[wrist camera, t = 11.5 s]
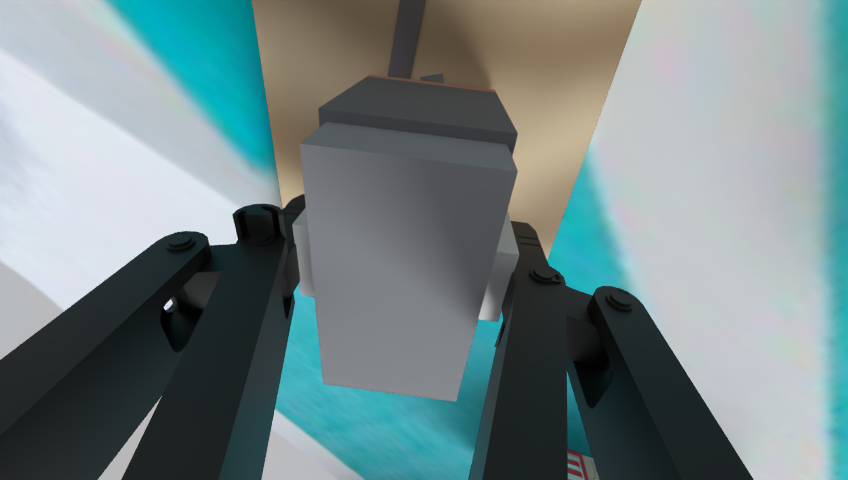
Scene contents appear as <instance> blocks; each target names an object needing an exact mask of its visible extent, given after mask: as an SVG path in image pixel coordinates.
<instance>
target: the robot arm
mask: <svg viewBox="0 0 848 480" xmlns="http://www.w3.org/2000/svg"><path fill="white" fill-rule="evenodd" d="M233 219H234V223H235V228H236V232H237V236H238V240H237V242H236V244H230V245H212V246H210V245H209V241H208V238H207V236H205V235H204V234H203V233H199V232H190V231H184V232H177V233H174V234H171V235H168V236H165V237H163V238H162V239H160V240H158V241H157V242H155V243H154V244H153V245H151V246H150V247H149V248H147V249H146V250H145V251H143V252H142V253H141V254H139V255H138V256H137V257H135V258H134V259H133V260H132V261H130V262H129V263H128V264H126V265H125V266H124V267H122V268H121V269H120V270H118V271H117V272H116V273H114V274H113V275H112V276H110V277H109V278H108V279H106V280H105V281H104V282H103V283H101V284H100V285H99V286H97V287H96V288H95V289H93V290H92V291H91V292H89V293H88V294H87V295H85V296H84V297H83V298H81V299H80V300H79V301H77V302H76V303H75V304H74V305H72V306H71V307H70V308H68V309H67V310H66V311H64V312H63V313H62V314H60V315H59V316H58V317H56V318H55V319H54V320H52V321H51V322H50V323H48V324H47V325H46V326H45V327H43V328H42V329H41V330H39V331H38V332H37V333H35V334H34V335H33V336H31V337H30V338H29V339H27V340H26V341H25V342H23V343H22V344H21V345H19V346H18V347H17V348H16V349H14V350H13V351H12V352H10V353H9V354H8V355H6V356H5V357H4V358H3V359H1V360H0V480H98V478H99V477H100V476H101V475H102V473H103V472H104V470H105V469H106V468H107V467H108V465H109V464H110V463H111V462H112V460H113V459H114V458H115V456H116V455H117V454H118V452H119V451H120V450H121V448H122V447H123V446H124V444H125V443H126V442H127V441H128V439H129V438H130V437H131V435H132V434H133V433H134V431H135V430H136V429H137V427H138V426H139V425H140V423H141V422H142V421H143V420H144V418H145V417H146V416H147V414H148V413H149V412H150V411H151V409H152V408H153V407H154V405H155V404H156V403H157V401H158V400H159V399H160V397H161V396H162V397H161V399H160V401H159V403H158V405H157V407H156V410H155V411H154V414H153V416H152V418H151V420H150V422H149V424H148V426H147V428H146V430H145V432H144V434H143V436H142V438H141V440H140V442H139V444H138V447H137V449H136V451H135V453H134V455H133V457H132V459H131V461H130V463H129V465H128V467H127V469H126V471H125V473H124V475H123V477H122V479H121V480H261V478H262V473H263V467H264V462H265V457H266V452H267V446H268V441H269V436H270V431H271V425H272V420H273V415H274V410H275V404H276V399H277V394H278V389H279V383H280V378H281V373H282V368H283V362H284V357H285V352H286V347H287V341H288V336H289V331H290V326H291V320H292V315H293V310H294V305H295V300H294V293H293V292H294V290H295V289H296V287H297V285H298V284H300V292H301V295H304V296H312V297H315V295H314V285H313V275H312V265H311V254H310V244H309V234H308V224H307V214H306V204H305V194H301V195H299V196H297V197H295V198H293V199H291V201H290V202H289V203H288V204H287V205H286V207H284V208H283V209H282V210H281V209H280V208H279V207H277V206H274V205H270V204H253V205H249V206H245V207H243V208H240V209H238V210H237V211H236V212H235V213H234V214H233ZM170 299H171V300H172V302H173V304H172V305H171V307H170V308H169V309H167V310H166V311H165V310H164V308H163V307H164V306H165V304H166V303H167V302H168V301H169V300H170ZM501 311H502V314H503V323H502V326H501V329H500V332H499V335H498V338H497V341H496V344H495V347H496V351H495V356H494V361H493V365H492V370H491V375H490V380H489V384H488V389H487V394H486V399H485V403H484V408H483V413H482V417H481V422H480V427H479V432H478V436H477V441H476V446H475V451H474V455H473V460H472V465H471V470H470V474H469V479H468V480H568V454H567V372H568V375H569V379H570V382H571V385H572V389H573V392H574V396H575V399H576V402H577V406H578V409H579V412H580V416H581V419H582V422H583V426H584V429H585V433H586V436H587V439H588V443H589V446H590V449H591V453H592V456H593V460H594V463H595V466H596V470H597V473H598V476H599V480H753V478H752V476H751V475H750V473H749V472H748V470H747V468H746V467H745V465H744V464H743V462H742V461H741V459H740V457H739V456H738V454H737V453H736V451H735V449H734V448H733V446H732V445H731V443H730V442H729V440H728V438H727V437H726V435H725V434H724V432H723V431H722V429H721V427H720V426H719V424H718V423H717V421H716V419H715V418H714V416H713V415H712V413H711V412H710V410H709V408H708V407H707V405H706V404H705V402H704V400H703V399H702V397H701V396H700V394H699V393H698V391H697V389H696V388H695V386H694V385H693V383H692V381H691V380H690V378H689V377H688V375H687V374H686V372H685V370H684V369H683V367H682V366H681V364H680V362H679V361H678V359H677V358H676V356H675V355H674V353H673V351H672V350H671V348H670V347H669V345H668V344H667V342H666V340H665V339H664V337H663V336H662V334H661V332H660V331H659V329H658V328H657V326H656V325H655V323H654V321H653V320H652V318H651V317H650V315H649V313H648V312H647V310H646V309H645V307H644V306H643V304H642V303H641V302H640V301H639V300H638V299H637V298H636V297H634V296H633V295H632V294H630V293H629V292H627V291H624V290H622V289H620V288H616V287H612V286H602V287H599V288H597V289H596V290H595V292H594V294H593V296H592V295H589V294H586V293H583V292H580V291H577V290H575V289H572V288H570V287H568V286H566V283H565V280H564V277H563V276H562V275H561V274H560V273H559V272H558V271H557V270H555V269H554V268H552V267H550V266H549V264H548V262H547V259H546V256H545V254H544V251H543V248H542V247H541V243H540V240H539V238H538V235H537V232H536V230H535V229H534V228H533V227H532V226H530V225H529V224H528V223H524V222H517V221H510V217H509V213H508V210H507V214H506V218H505V221H504V225H503V229H502V232H501V236H500V240H499V244H498V247H497V251H496V255H495V259H494V262H493V266H492V270H491V273H490V277H489V281H488V285H487V288H486V292H485V296H484V300H483V303H482V307H481V311H480V314H479V318H478V319H481V320H488V321H496V322H498V320H499V317H500V314H501Z"/></svg>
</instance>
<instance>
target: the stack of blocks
mask: <svg viewBox="0 0 848 480" xmlns="http://www.w3.org/2000/svg"><path fill="white" fill-rule="evenodd" d="M567 454H568V480H599V476H598V473H597V470H596V466H595V463H594V460H593V458H591V457H588V456H585V455H582V454H580V453H577V452H574V451H571V450H568V449H567Z"/></svg>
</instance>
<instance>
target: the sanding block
mask: <svg viewBox="0 0 848 480" xmlns="http://www.w3.org/2000/svg"><path fill="white" fill-rule="evenodd" d="M318 114H319V128H318V129H317V130H316V131H315V132H313V133H312V134H311V135H310V136H308V137H307V138H306V139H305V140H303V141H302V142H301V143H300V153H301V163H302V173H303V184H304V194H305V204H306V214H307V224H308V234H309V244H310V254H311V265H312V275H313V285H314V295H315V305H316V315H317V325H318V336H319V346H320V356H321V366H322V376H323V384H327V385H335V386H342V387H350V388H357V389H364V390H372V391H379V392H387V393H394V394H402V395H409V396H416V397H424V398H431V399H439V400H446V401H454V402H456V400H457V396H458V393H459V389H460V385H461V381H462V378H463V374H464V370H465V367H466V363H467V359H468V355H469V352H470V348H471V344H472V340H473V337H474V333H475V329H476V326H477V322H478V318H479V314H480V311H481V307H482V303H483V300H484V296H485V292H486V288H487V285H488V281H489V277H490V273H491V270H492V266H493V262H494V259H495V255H496V251H497V247H498V244H499V240H500V236H501V232H502V229H503V225H504V221H505V218H506V214H507V210H508V206H509V203H510V199H511V195H512V191H513V188H514V184H515V180H516V177H517V173H518V170H517V168H516V165H515V163H514V160H513V158H512V156H513V152H514V148H515V144H516V140H517V136H518V133H517V131H516V129H515V127H514V125H513V123H512V121H511V119H510V118H509V116H508V114H507V112H506V110H505V108H504V106H503V104H502V103H501V101H500V99H499V97H498V95H497V93H496V91H495V90H493V89H485V88H477V87H469V86H461V85H453V84H445V83H437V82H429V81H421V80H413V79H405V78H397V77H389V76H381V75H373V74H370V75H368V76H367V77H365V78H364V79H362V80H361V81H359V82H358V83H356V84H355V85H353V86H352V87H350V88H349V89H347V90H346V91H344V92H342V93H341V94H339V95H338V96H336V97H335V98H333V99H332V100H330V101H329V102H327V103H326V104H324V105H323V106H321V107H320V108H318Z"/></svg>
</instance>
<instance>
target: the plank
mask: <svg viewBox="0 0 848 480" xmlns="http://www.w3.org/2000/svg"><path fill="white" fill-rule="evenodd" d="M641 1H642V0H252V5H253V12H254V18H255V25H256V32H257V39H258V45H259V52H260V59H261V66H262V73H263V79H264V86H265V93H266V100H267V107H268V113H269V120H270V127H271V134H272V140H273V147H274V154H275V161H276V168H277V174H278V181H279V188H280V195H281V202H282V208H284V207H286V205H287V204H288V203H289V202H290V201H291V199H293V198H295V197H297V196H299V195H301V194H304V184H303V173H302V163H301V153H300V143H301V142H302V141H303V140H305V139H306V138H307V137H308V136H310V135H311V134H312V133H313V132H315V131H316V130H317V129H318V128H319V114H318V108H320V107H321V106H323V105H324V104H326V103H327V102H329V101H330V100H332V99H333V98H335V97H336V96H338V95H339V94H341V93H342V92H344V91H346V90H347V89H349V88H350V87H352V86H353V85H355V84H356V83H358V82H359V81H361V80H362V79H364V78H365V77H367V76H368V75H370V74H373V75H381V76H389V77H397V78H405V79H413V80H421V81H429V82H437V83H445V84H453V85H461V86H469V87H477V88H485V89H493V90H495V91H496V93H497V95H498V97H499V99H500V101H501V103H502V104H503V106H504V108H505V110H506V112H507V114H508V116H509V118H510V119H511V121H512V123H513V125H514V127H515V129H516V131H517V133H518V136H517V140H516V144H515V148H514V152H513V156H512V158H513V160H514V163H515V165H516V168H517V170H518V173H517V177H516V180H515V184H514V188H513V191H512V195H511V199H510V203H509V206H508V213H509V217H510V221H517V222H524V223H528V224H529V225H530V226H532V227H533V228H534V229H535V230H536V232H537V235H538V238H539V240H540V243H541V247H542V248H543V251H544V254H545V256H546V259H548V256H549V253H550V250H551V248H552V245H553V242H554V240H555V237H556V234H557V231H558V229H559V226H560V223H561V220H562V218H563V215H564V212H565V209H566V207H567V204H568V201H569V198H570V196H571V193H572V190H573V187H574V185H575V182H576V179H577V176H578V174H579V171H580V168H581V165H582V163H583V160H584V157H585V155H586V152H587V149H588V146H589V144H590V141H591V138H592V135H593V133H594V130H595V127H596V124H597V122H598V119H599V116H600V113H601V111H602V108H603V105H604V102H605V100H606V97H607V94H608V91H609V89H610V86H611V83H612V80H613V78H614V75H615V72H616V70H617V67H618V64H619V61H620V59H621V56H622V53H623V50H624V48H625V45H626V42H627V39H628V37H629V34H630V31H631V28H632V26H633V23H634V20H635V17H636V15H637V12H638V9H639V6H640V4H641Z"/></svg>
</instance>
